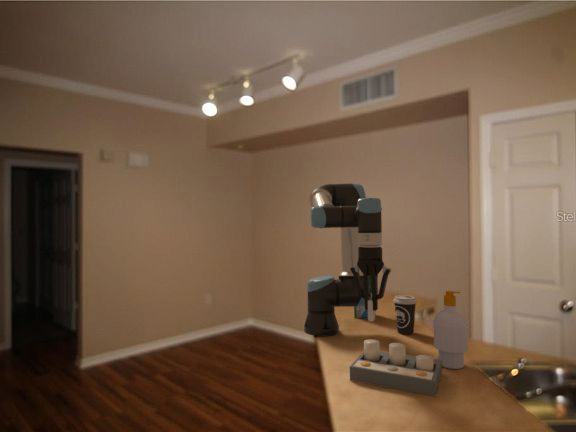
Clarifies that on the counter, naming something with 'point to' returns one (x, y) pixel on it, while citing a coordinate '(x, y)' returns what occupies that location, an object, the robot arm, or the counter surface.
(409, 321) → the coffee cup
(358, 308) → the milk carton
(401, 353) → the button
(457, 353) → the soap bottle
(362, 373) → the board
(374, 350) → the button
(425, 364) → the button
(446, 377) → the counter surface
